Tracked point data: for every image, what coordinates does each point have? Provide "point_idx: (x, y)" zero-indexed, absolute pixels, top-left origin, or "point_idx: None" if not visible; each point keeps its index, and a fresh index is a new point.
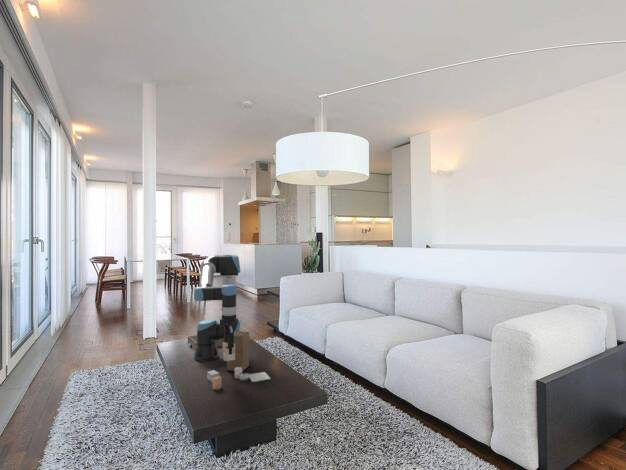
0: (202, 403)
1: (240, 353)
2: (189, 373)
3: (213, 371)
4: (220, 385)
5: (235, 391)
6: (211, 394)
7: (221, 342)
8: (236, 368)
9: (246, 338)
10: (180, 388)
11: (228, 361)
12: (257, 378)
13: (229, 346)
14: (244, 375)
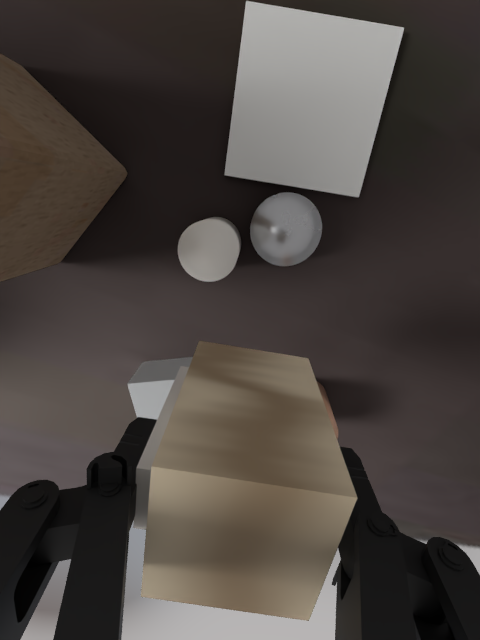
0: (421, 491)
1: (36, 179)
2: (34, 441)
3: (152, 395)
4: (327, 398)
5: (411, 339)
6: (359, 439)
7: None
8: (211, 269)
9: None
10: None
11: (27, 266)
12: (340, 137)
13: (448, 622)
14: (307, 237)
